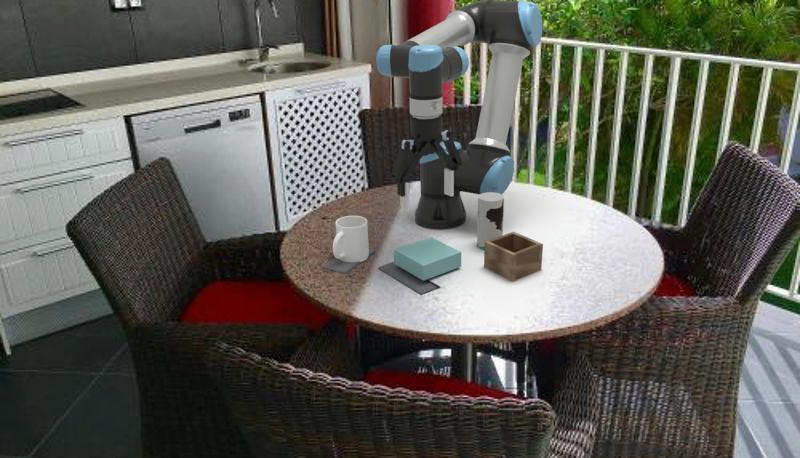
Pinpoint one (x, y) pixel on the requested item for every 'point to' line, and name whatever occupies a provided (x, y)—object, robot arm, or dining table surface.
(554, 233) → the dining table surface
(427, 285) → the mat
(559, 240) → the dining table surface
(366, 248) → the mug
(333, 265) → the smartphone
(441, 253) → the lid
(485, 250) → the box
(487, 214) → the printed grey cylinder
